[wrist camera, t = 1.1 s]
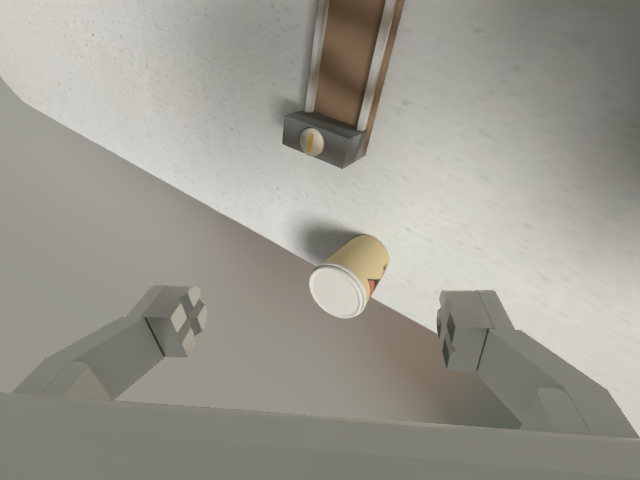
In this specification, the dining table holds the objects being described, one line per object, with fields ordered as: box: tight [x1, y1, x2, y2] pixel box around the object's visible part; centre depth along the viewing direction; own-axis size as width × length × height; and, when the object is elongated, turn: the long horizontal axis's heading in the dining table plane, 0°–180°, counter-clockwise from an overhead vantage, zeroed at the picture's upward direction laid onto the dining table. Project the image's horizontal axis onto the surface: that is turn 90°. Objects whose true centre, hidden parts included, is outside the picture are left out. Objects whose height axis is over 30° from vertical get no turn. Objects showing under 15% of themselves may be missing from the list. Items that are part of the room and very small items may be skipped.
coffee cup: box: [309, 235, 389, 318], centre depth 52 cm, size 9×9×12 cm
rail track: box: [282, 0, 405, 169], centre depth 37 cm, size 34×10×8 cm, turn 169°
